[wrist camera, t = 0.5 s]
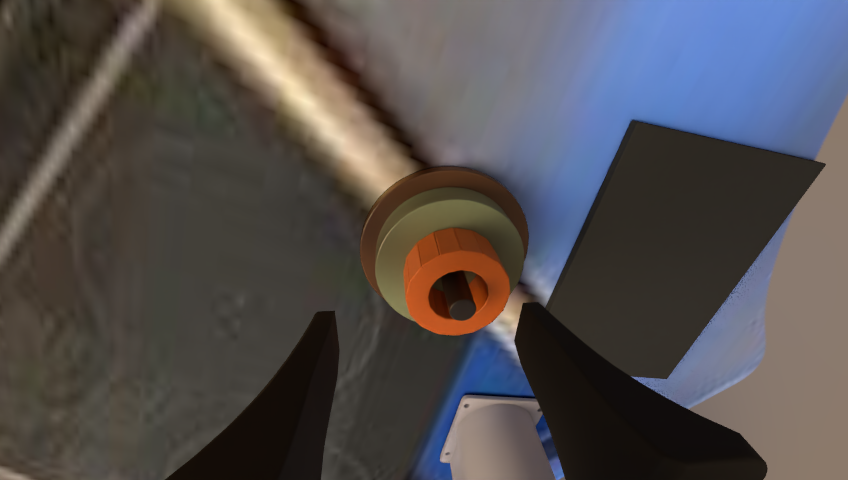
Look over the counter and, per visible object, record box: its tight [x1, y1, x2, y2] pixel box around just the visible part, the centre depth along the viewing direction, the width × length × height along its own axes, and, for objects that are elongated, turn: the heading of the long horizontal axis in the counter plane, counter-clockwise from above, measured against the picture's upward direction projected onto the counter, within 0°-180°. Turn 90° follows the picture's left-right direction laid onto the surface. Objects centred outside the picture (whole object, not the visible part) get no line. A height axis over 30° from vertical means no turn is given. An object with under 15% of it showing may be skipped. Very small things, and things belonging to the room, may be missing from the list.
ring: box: [403, 228, 510, 335], centre depth 20 cm, size 6×6×3 cm
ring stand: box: [360, 166, 529, 322], centre depth 21 cm, size 11×11×7 cm
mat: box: [545, 120, 826, 379], centre depth 26 cm, size 20×14×1 cm
